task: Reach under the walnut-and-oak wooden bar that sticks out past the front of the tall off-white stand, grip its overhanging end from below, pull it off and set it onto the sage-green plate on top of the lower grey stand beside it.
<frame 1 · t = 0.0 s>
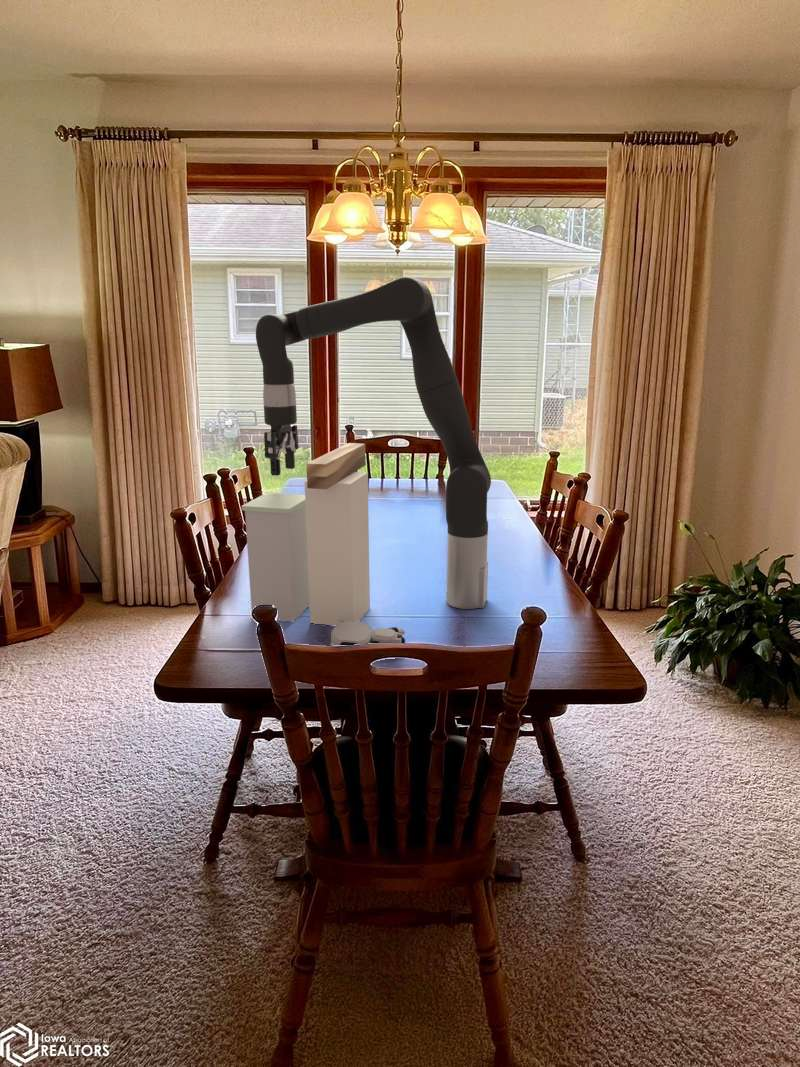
hand: (283, 471, 172), 29 cm above the table, tool pointing down, fingers open, 8 cm apart
low stand: (283, 609, 165), on the table
robot toy: (368, 651, 145), on the table
wooden bar: (338, 475, 153), point 32 cm above the table, touching tall stand
tall stand: (340, 615, 161), on the table
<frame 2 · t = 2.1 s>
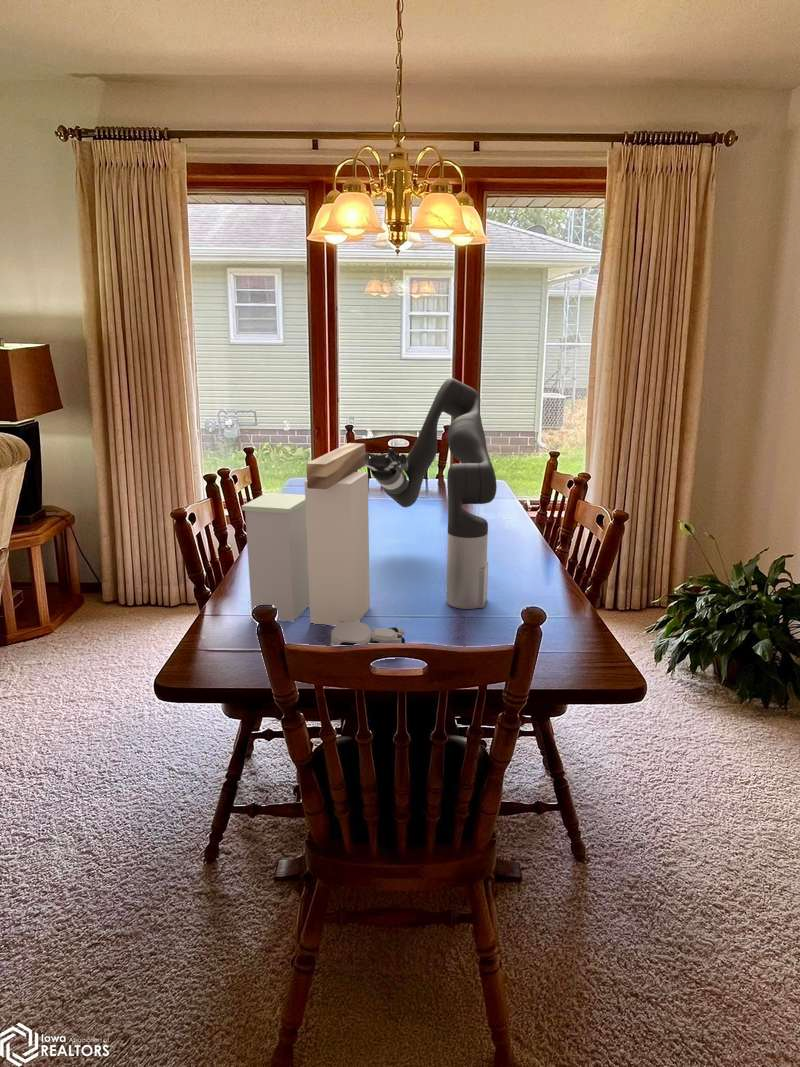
hand: (373, 451, 177), 33 cm above the table, tool pointing upward, fingers open, 8 cm apart
nothing on the table moved.
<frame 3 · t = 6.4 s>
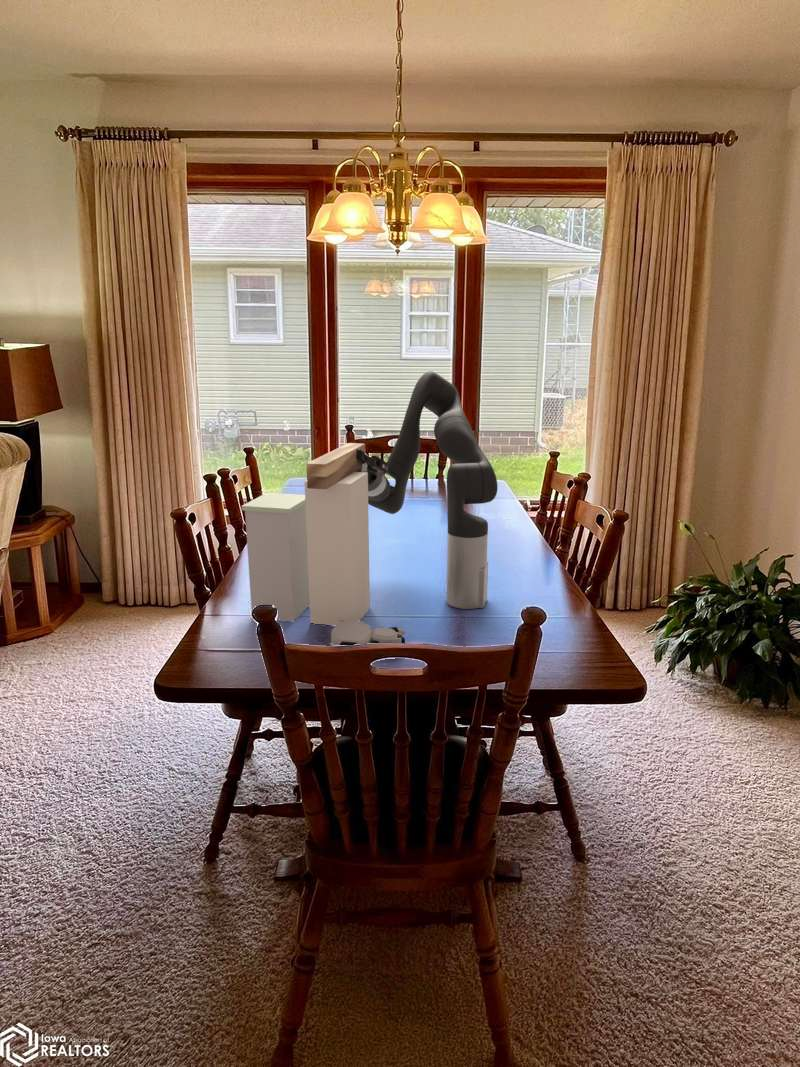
hand: (348, 452, 158), 36 cm above the table, tool pointing upward, fingers closed on wooden bar, 4 cm apart
wooden bar: (338, 475, 153), point 32 cm above the table, touching gripper, tall stand
everything else where it was.
when the fingers open (31 cm above the table, at t = 13.3 s): wooden bar drops 1 cm, resting on low stand.
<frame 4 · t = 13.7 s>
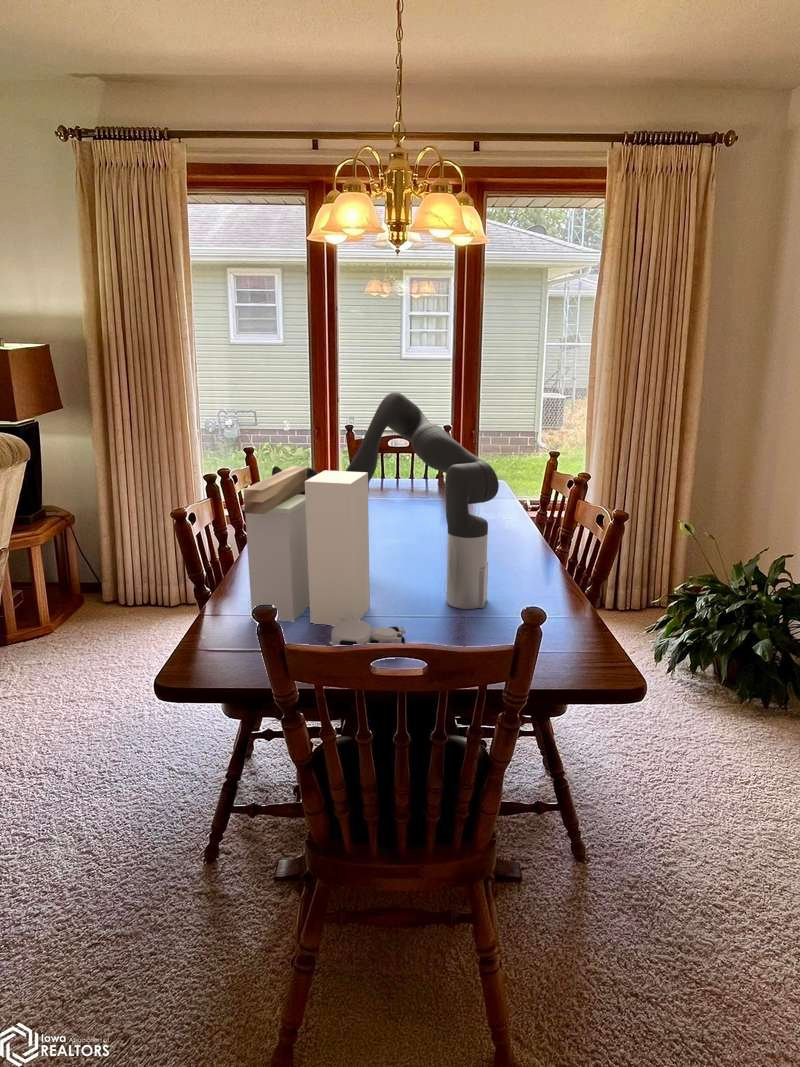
hand: (291, 470, 164), 31 cm above the table, tool pointing upward, fingers open, 8 cm apart
wooden bar: (279, 499, 159), point 26 cm above the table, touching low stand
everything else where it was.
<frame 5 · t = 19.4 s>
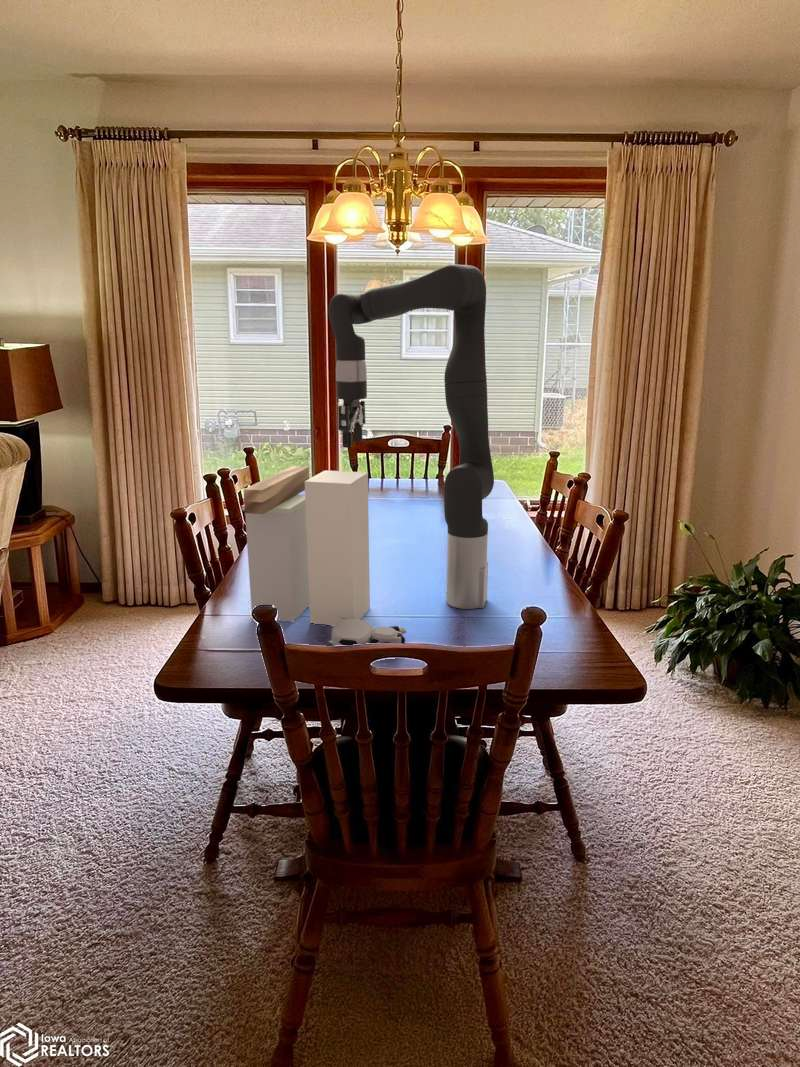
hand: (352, 444, 180), 34 cm above the table, tool pointing down, fingers open, 8 cm apart
nothing on the table moved.
at the end: wooden bar inside the target area on the low stand (1.1 cm from its centre), point 26.0 cm above the low stand's base; wooden bar tilted 0°; the gripper is holding nothing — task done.
